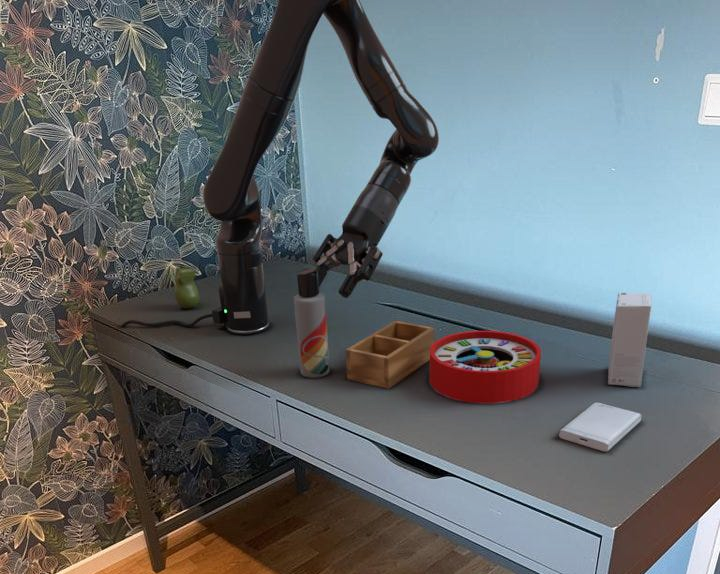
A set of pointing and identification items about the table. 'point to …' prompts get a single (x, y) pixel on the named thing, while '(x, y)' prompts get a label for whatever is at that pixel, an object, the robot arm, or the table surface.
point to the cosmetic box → (629, 339)
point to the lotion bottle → (311, 325)
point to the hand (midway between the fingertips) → (327, 290)
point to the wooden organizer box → (390, 354)
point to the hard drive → (600, 426)
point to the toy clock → (484, 366)
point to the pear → (186, 288)
